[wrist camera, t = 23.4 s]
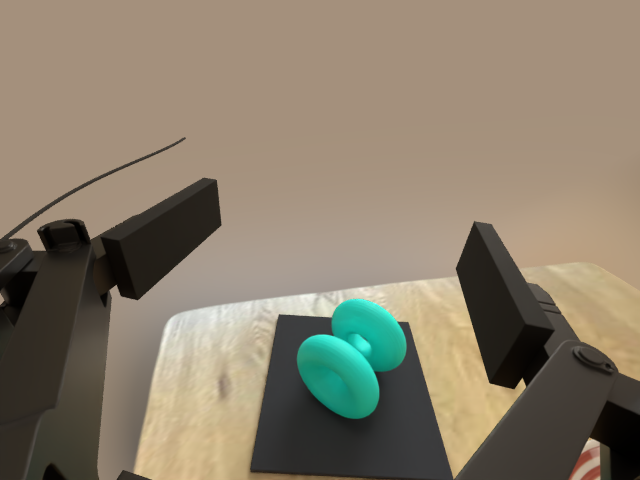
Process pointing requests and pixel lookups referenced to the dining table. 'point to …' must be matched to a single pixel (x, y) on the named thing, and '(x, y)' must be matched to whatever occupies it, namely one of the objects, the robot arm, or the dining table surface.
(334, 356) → the donuts
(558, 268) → the dining table surface
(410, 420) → the placemat
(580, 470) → the dinner plate
